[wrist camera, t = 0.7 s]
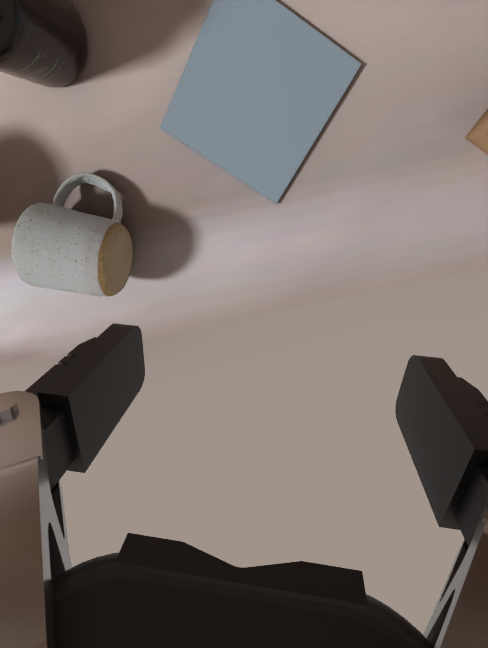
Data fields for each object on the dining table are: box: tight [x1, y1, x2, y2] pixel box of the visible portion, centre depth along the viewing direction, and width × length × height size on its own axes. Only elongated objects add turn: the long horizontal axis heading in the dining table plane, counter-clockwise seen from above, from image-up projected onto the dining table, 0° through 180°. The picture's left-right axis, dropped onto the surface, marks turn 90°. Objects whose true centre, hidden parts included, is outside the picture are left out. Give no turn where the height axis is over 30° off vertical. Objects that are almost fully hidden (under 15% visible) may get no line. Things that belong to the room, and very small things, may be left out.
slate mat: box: [160, 0, 361, 204], centre depth 28 cm, size 12×12×1 cm
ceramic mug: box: [12, 173, 133, 296], centre depth 31 cm, size 11×8×8 cm
